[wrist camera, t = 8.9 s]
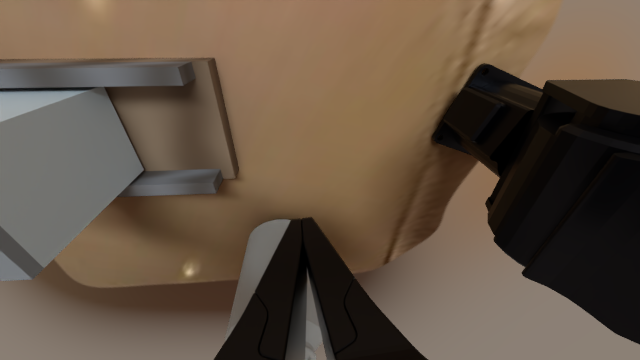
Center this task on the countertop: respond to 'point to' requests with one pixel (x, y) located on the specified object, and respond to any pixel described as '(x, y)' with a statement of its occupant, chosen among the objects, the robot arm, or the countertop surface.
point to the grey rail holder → (152, 115)
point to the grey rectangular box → (56, 170)
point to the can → (253, 269)
